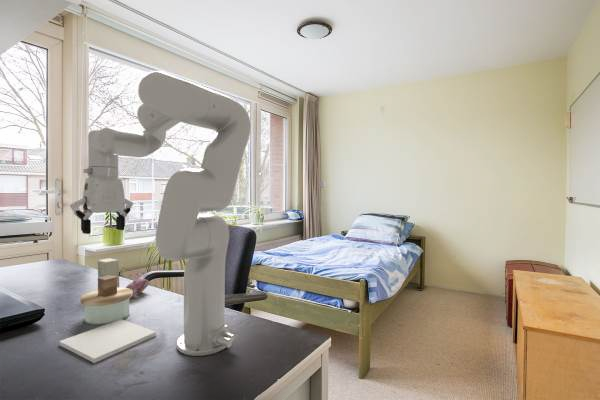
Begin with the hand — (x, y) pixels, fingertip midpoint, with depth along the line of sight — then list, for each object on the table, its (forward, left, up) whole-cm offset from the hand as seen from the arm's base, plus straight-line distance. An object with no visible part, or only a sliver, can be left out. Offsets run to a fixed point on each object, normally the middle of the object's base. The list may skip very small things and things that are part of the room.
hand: (104, 231), depth 95 cm
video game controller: (+7, -14, -25) cm, 29 cm away
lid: (-3, +1, -19) cm, 19 cm away
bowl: (-3, +1, -25) cm, 25 cm away
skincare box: (+16, -10, -25) cm, 31 cm away
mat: (-18, +9, -25) cm, 32 cm away
